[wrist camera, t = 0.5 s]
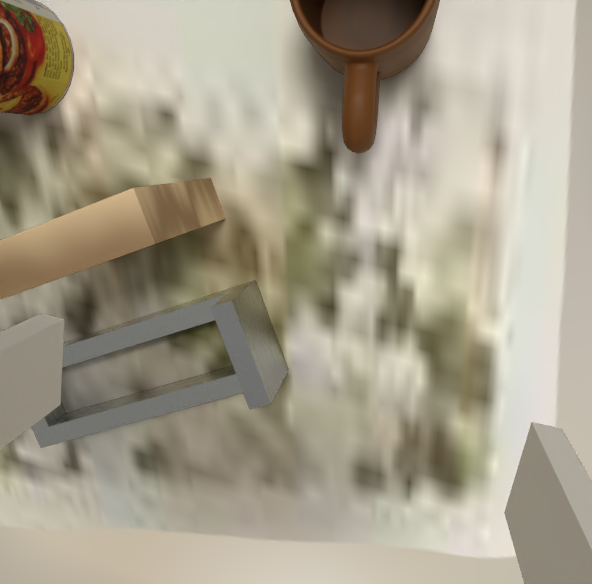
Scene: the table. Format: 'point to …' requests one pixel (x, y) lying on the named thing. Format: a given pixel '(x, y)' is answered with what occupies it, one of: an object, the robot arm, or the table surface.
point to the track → (186, 393)
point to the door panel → (105, 232)
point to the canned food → (32, 57)
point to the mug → (365, 50)
